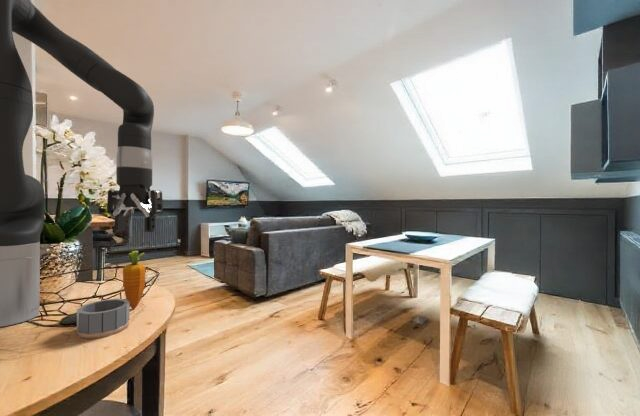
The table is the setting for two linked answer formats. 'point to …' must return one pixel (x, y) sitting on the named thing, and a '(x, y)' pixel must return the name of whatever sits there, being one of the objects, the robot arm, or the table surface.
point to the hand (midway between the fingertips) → (134, 231)
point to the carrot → (134, 279)
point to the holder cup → (102, 318)
